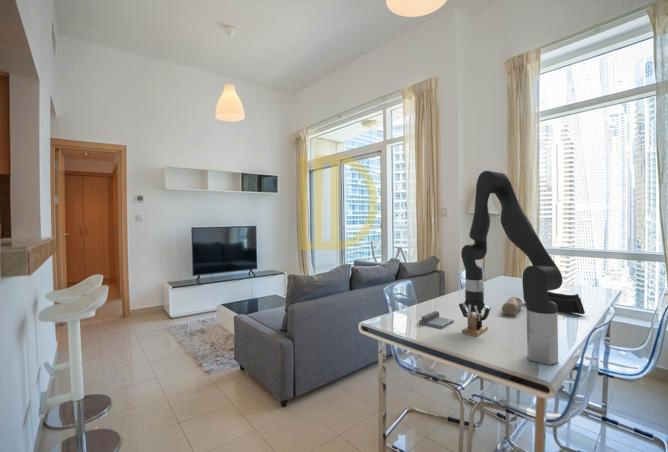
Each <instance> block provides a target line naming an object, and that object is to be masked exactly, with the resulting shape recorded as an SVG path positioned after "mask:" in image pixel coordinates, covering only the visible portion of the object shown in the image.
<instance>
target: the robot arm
mask: <svg viewBox="0 0 668 452" xmlns="http://www.w3.org/2000/svg"><path fill="white" fill-rule="evenodd" d="M475 187H476V188H475V199H474V211H473V218H472V222H471V226H470V230H469V239H471V240H473V242H474V243H473V244H466V245H464V246H463V247H462V249H461V252H460V255H461V259H462V260H461V261H462V263H463V267H464V270H465V272H464V273H465V282H464V283H465V284H464V285H465V286H464V295H465V296H464V298H465V301H464V302H461V303H459V304H458V307H459V309H460V312H461V314H462V315H463V316H462V317H464V318H467V320H468V317H470V316H472V315H474V314H476V316H477V319H478V321H477V329H481V328H482V326H483V322H484V321H485V320H487V319H488V317H489V314H490V312H491V311H492V308H491V307H489V306H486V304H485V303H484V302H485V299H484V296H485V295H484V294H485V293H484V291H485V286H484V280H483V279H484V276H483V275H484V274H483V273H484V271H483V267H482V266H480V265H477V263H476V261H480V260H483V259H484V258H485V256H486V255H487V252H488V245H487V244H488V241H487V240H488V239H487V238H488V234H489V230H490V227H491V216H490V212H489V207H488V203H489V198H490V195H491V194H495V196H496V198H497V199H498V201H499V203H500V206H501V209H500V210H501V211H500V224H501V227H502V228H503V231H504V232H505V235H506V236H507V238H508V240H509V241H510V242H511V243H513V244H514V246H516V247H517V248H518V249H519V250H520V251H521V252H522V253H524V254H525V256H526V257H527V258H528V259H529V262H530V263H531V265H529V266H527V267H526V268H524V270H523V272H522V293H523V301H524V303H525V307H526V310H525V311H526V353H527V358H528V360H529V361H531V362H536V363H539V364H543V365H547V366H552V365H555V364H558V363H559V328H558V327H559V326H558V325H559V323H558V322H559V321H558V320H559V317H558V316H559V315H558V312H559V311H558V309H557V304H556V303H555V302H552V301H550V300H549V299H548V291H549V292H551V291H556V290H558V289H560V288H561V287H562V284H563V276H562V273H561V271H560V268H559V267H558V266H557V264H556V263H555V261H554V260H553V258H552V257H551V256H550V254H549V253H548V252H547V250H546V249H545V246H544V245H543V243H542V241H541V239H540V237H539V236H538V233H536V230H535V229H534V227H533V225H532V223H531V221H530V219H529V217H528V216H527V214H526V212H525V211H524V209H523V207H522V205H521V202H520V201H519V198H518V197H517V195H516V193H515V190H514V187H513V184H512V182H511V179H510V178H509V176H508V175H507V174H506V173H505V172H503V171H498V170H483V171H482V172H481V173H480V174H479V175H478V177H477V181H476V186H475ZM482 310H483V311H484V313H482V312H483V311H482ZM473 313H474V314H473Z"/></svg>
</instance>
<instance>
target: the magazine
mask: <svg viewBox="0 0 668 452" xmlns="http://www.w3.org/2000/svg"><path fill="white" fill-rule="evenodd" d="M548 299H549V300H550V301H552V302H555V303H556V304H557V309H558V312H561V313H569V314H580V315H584V314H586V311H585V309H584V305H583V303H582V299H581V298H580V295H579V294H577V293H575V294H565V293H558V292H552V291H548Z"/></svg>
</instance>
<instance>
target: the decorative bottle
mask: <svg viewBox="0 0 668 452" xmlns="http://www.w3.org/2000/svg"><path fill="white" fill-rule="evenodd" d="M523 305H524V304H523V302H522V300H521V298H519V297H518V296H512V297H510V298H508V299H507V301H506V302H505V303H503V304H502V307H501V311H502V312H503V314H504V315H506V316H515V315H517V314H518V312H519V310H521V308H522V307H523Z"/></svg>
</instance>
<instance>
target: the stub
mask: <svg viewBox="0 0 668 452" xmlns="http://www.w3.org/2000/svg"><path fill="white" fill-rule="evenodd" d="M477 321H478V319H477V316H476V313H474V314H472V316H470V317H468V319H467V326H466V327H465V328H463V329H462V330H461V333H462V334H465V335H469V336H472V337H473V336H474V337H478V336H480V335H482V334H483V333H485V332H486V331H488V330H489V329H488V327H489V326H485V325H482V328H481V329H477Z"/></svg>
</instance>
